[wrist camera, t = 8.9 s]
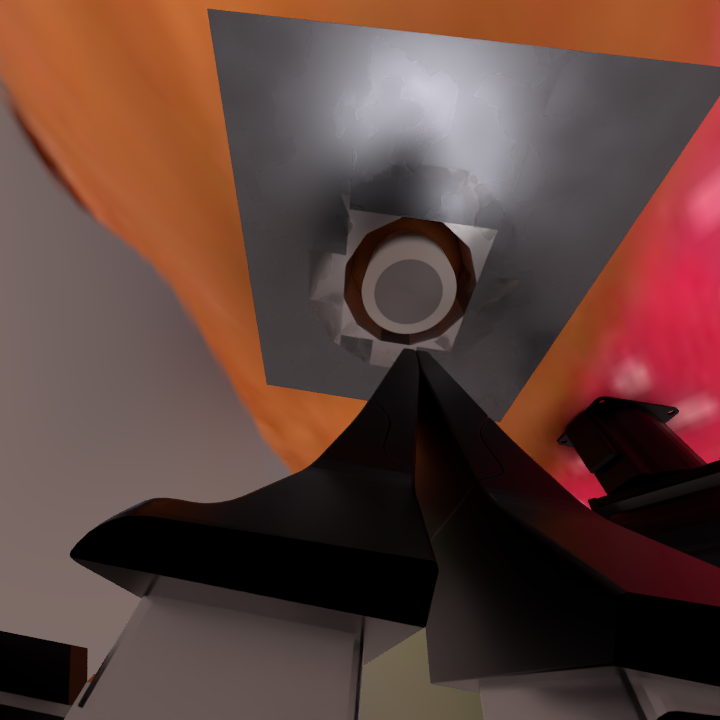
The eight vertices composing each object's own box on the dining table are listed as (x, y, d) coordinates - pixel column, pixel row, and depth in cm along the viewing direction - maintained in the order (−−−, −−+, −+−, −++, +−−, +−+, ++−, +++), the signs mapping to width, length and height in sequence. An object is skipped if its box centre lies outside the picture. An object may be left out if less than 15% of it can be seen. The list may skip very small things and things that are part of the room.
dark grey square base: (653, 94, 11) (737, 69, 8) (487, 390, 22) (499, 421, 19) (252, 47, 12) (206, 8, 9) (283, 357, 23) (266, 384, 20)
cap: (456, 234, 15) (471, 251, 12) (433, 309, 18) (440, 340, 15) (373, 223, 16) (367, 238, 12) (365, 299, 19) (357, 328, 15)
